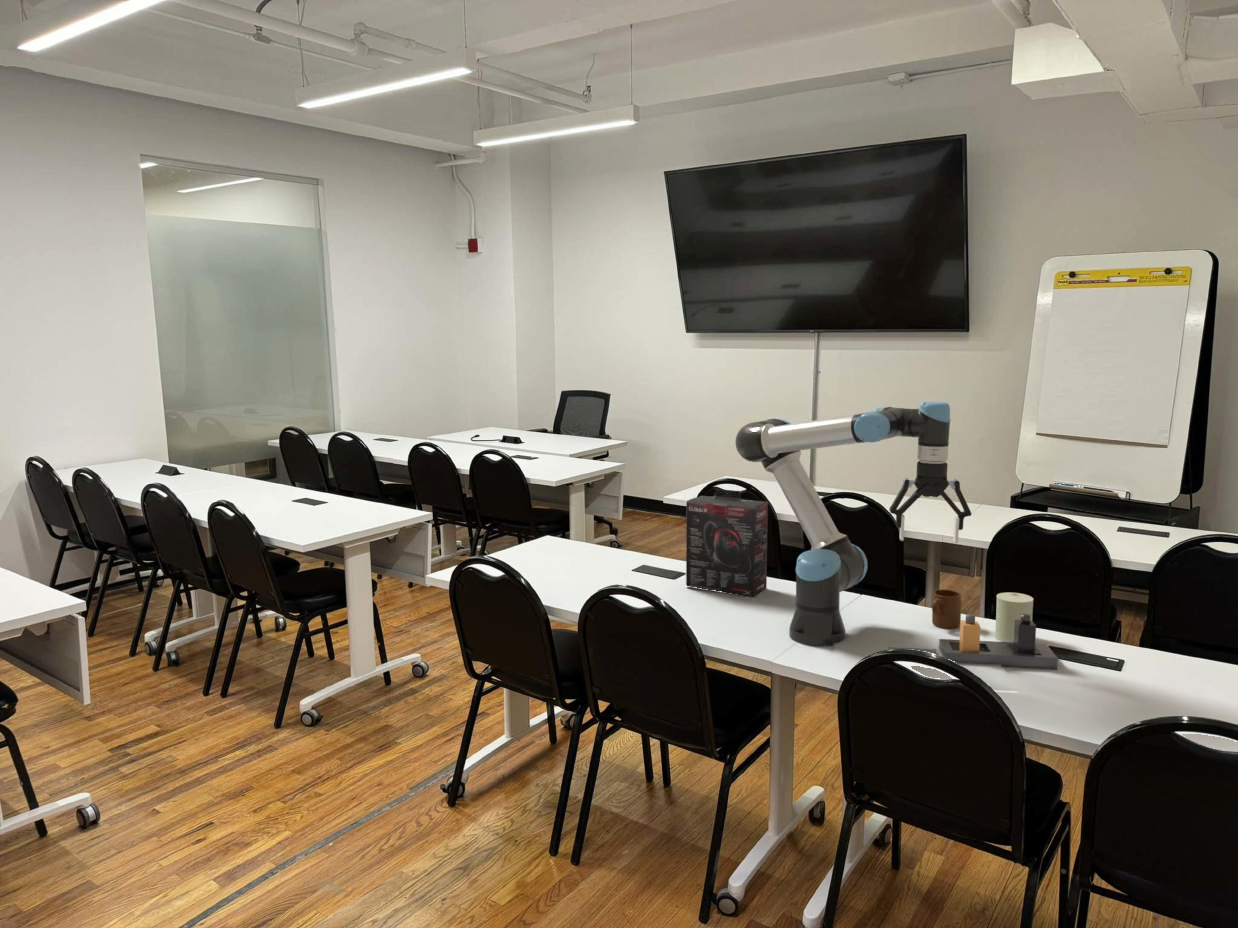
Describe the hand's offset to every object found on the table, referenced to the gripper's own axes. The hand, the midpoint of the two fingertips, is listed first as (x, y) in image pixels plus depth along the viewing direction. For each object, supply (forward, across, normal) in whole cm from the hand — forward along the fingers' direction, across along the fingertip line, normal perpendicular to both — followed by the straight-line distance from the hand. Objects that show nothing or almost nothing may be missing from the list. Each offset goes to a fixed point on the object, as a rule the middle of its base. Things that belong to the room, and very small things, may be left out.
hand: (928, 540), depth 227 cm
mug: (+28, +7, +14) cm, 32 cm away
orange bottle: (+28, +10, -11) cm, 31 cm away
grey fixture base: (+28, +16, -10) cm, 34 cm away
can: (+28, +24, +7) cm, 37 cm away
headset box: (+29, -56, +43) cm, 77 cm away
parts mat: (+28, -4, -12) cm, 31 cm away
